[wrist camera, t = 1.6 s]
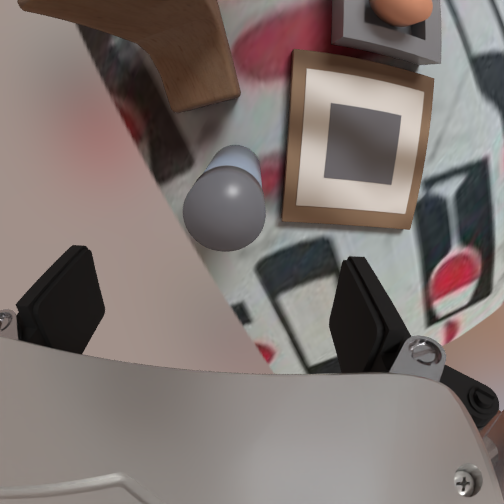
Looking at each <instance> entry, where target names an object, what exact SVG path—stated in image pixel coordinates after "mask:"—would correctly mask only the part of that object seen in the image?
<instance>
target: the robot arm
mask: <svg viewBox="0 0 504 504" xmlns="http://www.w3.org/2000/svg"><path fill="white" fill-rule="evenodd" d="M16 306H17V308H18V311H19V313H18V314H17V315H16V314H15V312H14V311H12V310H0V504H504V410H503V411H502V412H501V411H500V410H499V401H498V398H497V396H496V394H495V393H494V392H493V390H492V389H491V388H489V387H488V386H486V385H484V384H482V383H480V382H478V381H476V380H474V379H472V378H470V377H468V376H466V375H464V374H462V373H460V372H458V371H456V370H454V369H452V368H451V367H449V366H447V365H445V361H446V354H445V350H444V349H443V348H442V346H441V345H440V344H439V343H438V342H436V341H435V340H433V339H431V338H429V337H425V336H412V337H411V335H410V333H409V331H408V330H407V328H406V326H405V324H404V322H403V320H402V319H401V317H400V315H399V313H398V312H397V310H396V308H395V306H394V305H393V303H392V301H391V299H390V298H389V296H388V295H387V293H386V291H385V290H384V288H383V286H382V285H381V283H380V281H379V280H378V278H377V276H376V275H375V273H374V271H373V270H372V268H371V267H370V265H369V263H368V262H367V260H366V259H365V257H352V256H349V257H348V259H347V260H343V262H342V266H341V271H340V275H339V280H338V285H337V289H336V294H335V298H334V303H333V307H332V311H331V315H330V320H329V327H330V331H331V335H332V339H333V342H334V346H335V349H336V353H337V357H338V360H339V364H340V368H341V372H342V373H332V374H248V373H227V372H211V371H198V370H187V369H176V368H167V367H158V366H150V365H143V364H136V363H128V362H122V361H116V360H110V359H104V358H98V357H93V356H88V355H83V354H82V353H83V351H84V350H85V347H86V346H87V344H88V342H89V341H90V339H91V337H92V335H93V333H94V332H95V330H96V328H97V326H98V324H99V323H100V321H101V319H102V318H103V316H104V313H105V306H104V302H103V299H102V295H101V291H100V287H99V283H98V279H97V274H96V270H95V266H94V261H93V257H92V252H91V251H90V250H88V248H87V247H86V246H76V245H73V246H71V247H70V248H69V249H68V250H67V251H66V252H65V253H64V254H63V255H62V256H61V257H60V258H59V259H58V260H57V261H56V262H55V263H54V264H53V265H52V266H51V267H50V268H49V269H48V270H47V271H46V272H45V273H44V274H43V275H42V276H41V277H40V278H39V279H38V280H37V282H36V283H35V284H34V285H33V286H32V287H31V288H30V289H29V290H28V291H27V292H26V294H24V296H23V297H22V298H21V299H20V300H19V301H18V302H17V304H16Z"/></svg>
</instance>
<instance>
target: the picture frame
mask: <svg viewBox="0 0 504 504" xmlns="http://www.w3.org/2000/svg"><path fill="white" fill-rule="evenodd" d="M433 89H434V78H431V77H428V76H425V75H421V74H418V73H415V72H411V71H408V70H404V69H401V68H397V67H393V66H389V65H385V64H381V63H377V62H373V61H368V60H363V59H358V58H353V57H348V56H342V55H336V54H330V53H323V52H316V51H308V50H299V49H294V50H293V51H292V69H291V87H290V105H289V121H288V136H287V150H286V164H285V177H284V190H283V202H282V214H281V218H282V221H285V222H305V223H323V224H339V225H354V226H369V227H383V228H396V229H408V230H410V228H411V224H412V220H413V216H414V211H415V207H416V202H417V198H418V193H419V188H420V183H421V178H422V173H423V168H424V162H425V156H426V150H427V143H428V136H429V128H430V120H431V111H432V101H433Z"/></svg>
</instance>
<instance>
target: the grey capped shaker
mask: <svg viewBox="0 0 504 504" xmlns="http://www.w3.org/2000/svg"><path fill="white" fill-rule="evenodd" d="M265 217H266V211H265V200H264V193H263V190H262V184H261V171H260V163H259V160H258V158H257V156H256V155H255V154H254V153H253V152H252V151H251V150H250V149H248V148H246V147H244V146H240V145H230V146H227V147H224V148H222V149H221V150H220V151H218V152H217V153H216V155H215V156H214V158H213V159H212V161H211V162H210V164H209V165H208V167H207V168H206V170H205V171H204V173H203V174H202V175H201V176H200V177H199V178H198V179H197V181H196V182H195V184H194V185H193V187H192V188H191V190H190V191H189V193H188V194H187V197H186V199H185V202H184V206H183V218H184V222H185V225H186V228H187V229H188V231H189V233H190V234H191V235H192V237H193V238H194V239H195V240H196V241H197V242H199V243H200V244H202V245H203V246H205V247H207V248H209V249H212V250H216V251H235V250H239V249H241V248H244V247H246V246H248V245H249V244H250V243H252V242H253V241H254V240H255V239H256V238H257V237H258V236H259V234H260V233H261V231H262V229H263V226H264V223H265Z"/></svg>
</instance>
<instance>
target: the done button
mask: <svg viewBox="0 0 504 504" xmlns="http://www.w3.org/2000/svg"><path fill="white" fill-rule="evenodd" d="M369 3H370V6H371V8H372V10H373V11H374V13H375V14H376V15H377V16H378V17H379V18H380V19H381V20H382V21H384V22H385V23H387V24H389V25H392V26H395V27H407V26H410V25H412V24H415V23H418V22H421V21H424V20H426V19H428V18H429V17H430V15H431V13H432V9H433V4H432V0H369Z"/></svg>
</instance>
